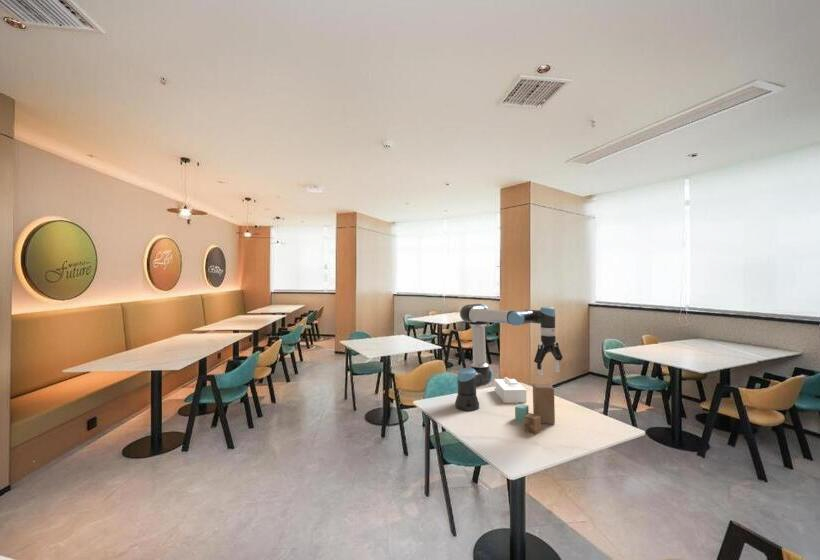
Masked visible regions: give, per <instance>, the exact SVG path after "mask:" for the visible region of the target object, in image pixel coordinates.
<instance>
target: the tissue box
mask: <svg viewBox="0 0 820 560" xmlns="http://www.w3.org/2000/svg"><path fill="white" fill-rule="evenodd" d="M493 382H494V392H495V393H496V394H497V395H498V397H499V398H500V399H501V401H502V402H503V403H504V404H519V403H518V402H527V389H526V388H525V387H524V386H523V385H522V384H521V383H519V382H518V380H516V379H515V378H508V377H507V376H504V377H503V378H494V381H493ZM495 387H496V388H495ZM527 403H528V402H527Z"/></svg>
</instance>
